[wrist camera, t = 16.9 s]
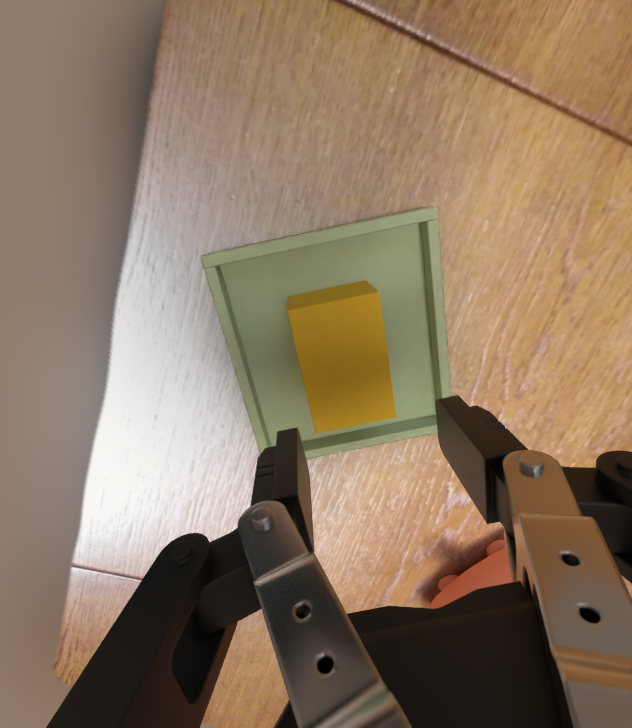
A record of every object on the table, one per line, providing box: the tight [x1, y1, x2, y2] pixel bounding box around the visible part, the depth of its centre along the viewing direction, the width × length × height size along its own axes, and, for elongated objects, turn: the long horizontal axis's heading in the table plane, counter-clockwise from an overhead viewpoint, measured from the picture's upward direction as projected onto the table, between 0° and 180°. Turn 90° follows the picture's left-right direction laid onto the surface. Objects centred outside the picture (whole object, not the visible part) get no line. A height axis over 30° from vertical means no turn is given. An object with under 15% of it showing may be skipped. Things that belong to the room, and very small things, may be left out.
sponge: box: [287, 280, 396, 434], centre depth 21 cm, size 7×4×4 cm, turn 11°
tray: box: [201, 206, 451, 459], centre depth 22 cm, size 13×12×2 cm
